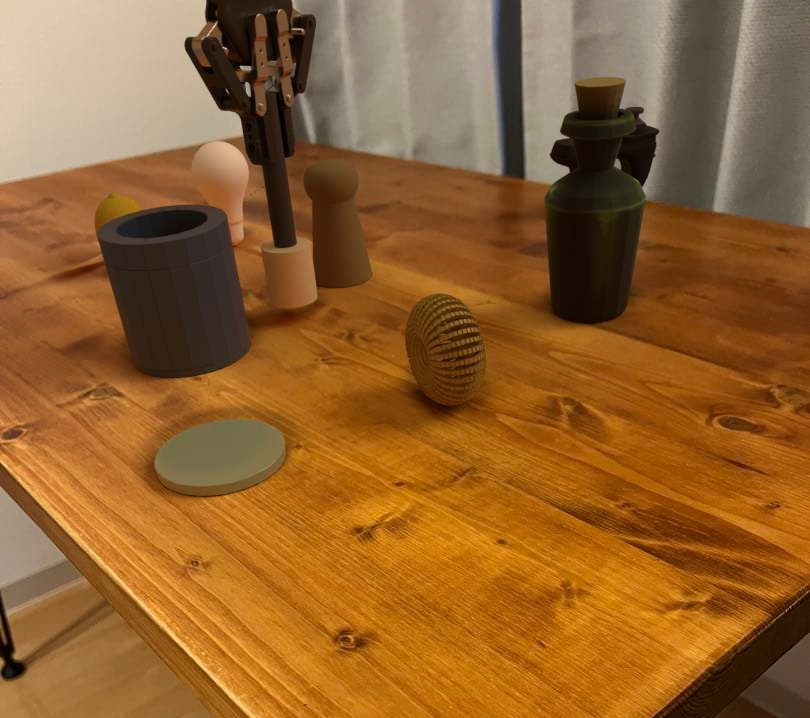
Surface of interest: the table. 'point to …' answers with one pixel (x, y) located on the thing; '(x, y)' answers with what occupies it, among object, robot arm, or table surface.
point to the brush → (284, 232)
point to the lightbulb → (222, 181)
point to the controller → (631, 154)
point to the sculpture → (445, 349)
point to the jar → (176, 289)
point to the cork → (336, 224)
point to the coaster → (220, 457)
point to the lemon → (113, 209)
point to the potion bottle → (594, 210)
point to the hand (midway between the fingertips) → (272, 159)
